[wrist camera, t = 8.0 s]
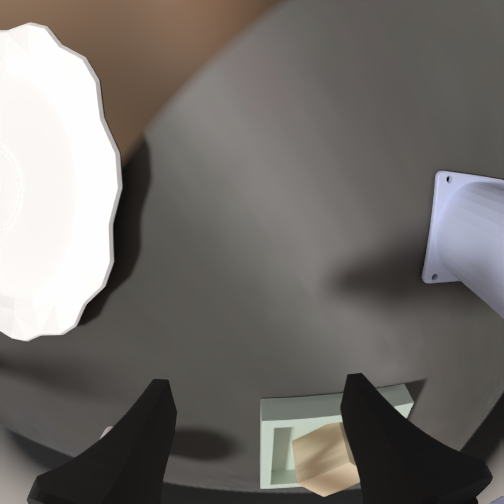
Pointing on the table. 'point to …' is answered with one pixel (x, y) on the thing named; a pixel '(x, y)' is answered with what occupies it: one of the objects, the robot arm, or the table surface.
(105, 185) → the plate
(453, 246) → the robot arm
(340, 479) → the maple cube
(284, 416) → the green tray
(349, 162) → the table surface
